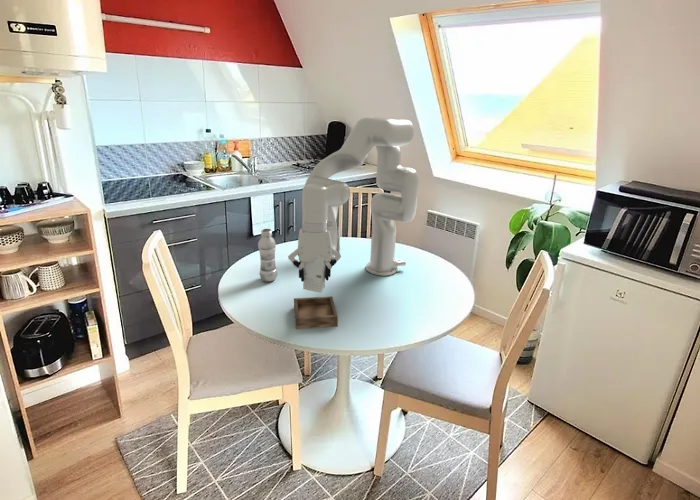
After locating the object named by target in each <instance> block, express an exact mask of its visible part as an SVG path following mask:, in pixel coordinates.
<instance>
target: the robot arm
mask: <svg viewBox="0 0 700 500" xmlns="http://www.w3.org/2000/svg"><path fill="white" fill-rule="evenodd" d="M414 133H415V127H414V125H413V123H412V122H411V121H410V120H408V119H402V118H401V119H400V118H391V117H383V116H376V117H375V116H374V117H361V118H360V119H359V120H358V121H357V122H356V123H355V125H354V127H353V129H352V130H351V131H350V133H349V134H348V137H347V138H346V140H345V141H344V143H343V144H342V146H341V148H339V150H336V151H334V152H332V153H331V154H329V155H328V156H326V157H324V158H323V159H321V160H320V161H319V162H318V163H317V164H316V165H315V166H314V167H313V169H312V170H311V172H310V174H309V176H308V177H307V179H306V182H305V184H304V186H303V188H302V190H301V191H302V192H301V193H302V194H301V197H302V200H301V201H302V202H301V203H302V204H301V205H302V207H301V211H302V221H301V222H302V223H301V224H302V227H301V228H300V229H299V232H298V237H297V239H298V240H297V248H296V249H295V250H294V251H292V252H291V253H289V255H288V260H289V261H290V262H291V263H292V264H293V265H294V266H295V267H296V268H297V269H298V278H299V279H300V281H301V282H302V283H303V281H304V264H305V263H306V262H314V261H315V259H316V257H317V256H323V262H325V263H326V275H325V281H329V278H331V272H332V271H331V269H332V267H333V266H335V265H336V264H337V262H338V261H339V260H340V259H341V257H342V254H341V253H340V254H339V253H338V252H337V251H335V250H334V249H333V248H332V247H331V235H330V229H329V228H328V227H329V226H332V225H333V223H332V222H330V221H328V208H329V207H334V206H339V207H340V206H343V205H344V204H346V202H348V200H349V198H350V196H351V189H350V187H349V185H348V184H347V183H345V182H343V181H341V180H336V179H331V177H332V176H334V175H335V174H338V173H341V172H346V171H349V170H354V169H357V168H359V167H361V166H363V165H364V163H365V161H366V160H367V158H368V156H369V154H370V152H371V151H372V149H373V147H375V149H376V152H377V156H376V157H377V160H376V173H375V174H376V175H375V176H376V178H375V179H376V181H375V182H376V186H377V187H378V188H379V189H381V190H384V191H388V192H378V193H376V194H374V195H373V196H372V198H371V201H370V214H371V224H372V225H371V240H370V243H371V244H370V258H369V262H367V263H366V265H365V270H366V271H367V272H368V273H370V274H372V275H376V276H380V277H382V276H384V277H385V276H387V277H388V276H392V275H393V274H395V273H397V272H398V267H399V266H401V267H403V266H406V260H402V259H400V258H397V259H396V258H395V253H396V239H397V237H396V236H397V226H396V222H400V223H406V224H407V223H411V222H412V221H413V220H414V218H415V216H416V213H417V206H418V197H419V196H418V195H419V188H420V187H419V184H420V183H419V182H420V180H419V179H420V178H419V174H418V172H417V171H416V170H415V169H414V168H412V167H406V166H402V165H401V155H402V154H401V153H402V152H401V148H400V147H405V146H407V145H409V144H410V143H411V142H412V140H413V137H414V135H415V134H414ZM389 192H392V193H389ZM393 193H396V194H393ZM397 193H399V194H401V195H399V194H397ZM332 254H333V255H334V256H335V257H334V258H333V259H331V258H332ZM297 256H298V260H297V259H296V258H295V257H297Z"/></svg>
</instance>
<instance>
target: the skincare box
mask: <svg viewBox="0 0 700 500" xmlns="http://www.w3.org/2000/svg"><path fill="white" fill-rule="evenodd" d="M303 269H304V281H303V282H302V283H303V285H302V286H303V290H306V291H310V292H314V293H321V292H323V290H324V289H325V288H326V278H325V275H326V263H325V262H323V256H317V257H316V259H315V261H314V262H306V263H305V264H304V266H303Z"/></svg>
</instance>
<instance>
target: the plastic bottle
mask: <svg viewBox="0 0 700 500" xmlns="http://www.w3.org/2000/svg"><path fill="white" fill-rule="evenodd" d="M260 232H261V234H260V236H261V237H260V239H259V241H258V243H257V247H258V251H259V258H260V268H259V277H260V280H261V281H262V282H267V283H269V282H273V281H275V280H276V279H277V276H278V270H277V267H276V245H277V243H276V241H275V239H274V237H272V236H273V233H272V229H271V228H263V229H261V231H260Z"/></svg>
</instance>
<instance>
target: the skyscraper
mask: <svg viewBox="0 0 700 500" xmlns="http://www.w3.org/2000/svg"><path fill="white" fill-rule="evenodd" d="M339 207H340V206H334V207H329V208H328V221H330V222H332V223H333V225H332V226H329V227H328V228H329V229H330V235H331V247H332V248H333V249H334V250H335V251H337V252H338V253H339V254H340V255H341V235H340V226H337V225H338V224H337V218H338V212H339ZM334 257H335V256H334V255H333V254H332V258H331V260H332V259H333V258H334Z"/></svg>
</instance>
